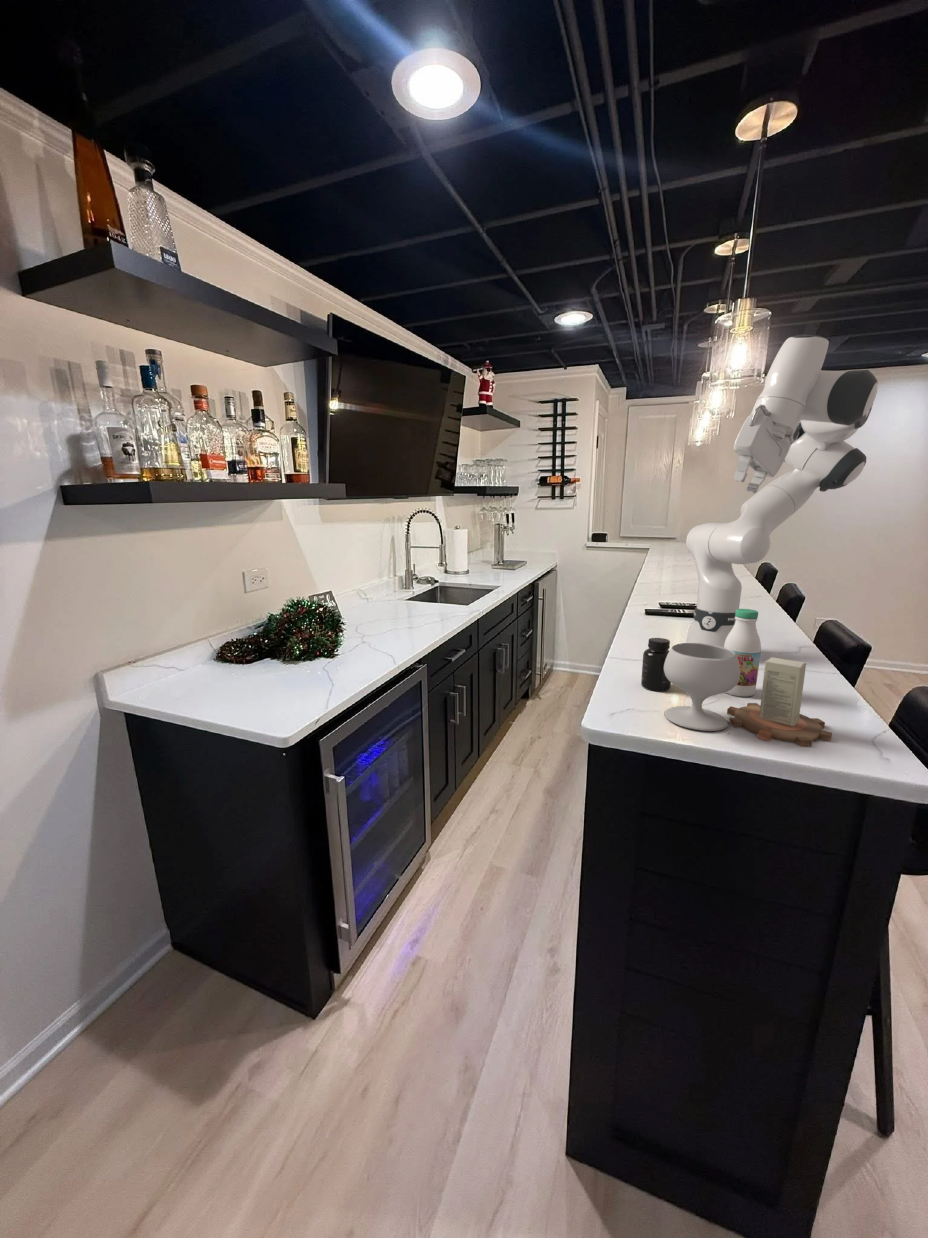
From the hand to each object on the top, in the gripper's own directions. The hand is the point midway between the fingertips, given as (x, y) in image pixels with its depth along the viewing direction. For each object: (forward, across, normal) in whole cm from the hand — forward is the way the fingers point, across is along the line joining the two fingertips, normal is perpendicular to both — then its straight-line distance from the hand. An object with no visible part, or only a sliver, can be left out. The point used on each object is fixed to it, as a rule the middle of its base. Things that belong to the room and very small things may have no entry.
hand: (744, 486), depth 104 cm
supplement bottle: (+49, +7, +3) cm, 50 cm away
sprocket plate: (+44, +3, -23) cm, 50 cm away
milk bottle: (+43, +18, -11) cm, 48 cm away
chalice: (+48, -5, -11) cm, 50 cm away
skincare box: (+43, +3, -23) cm, 49 cm away
